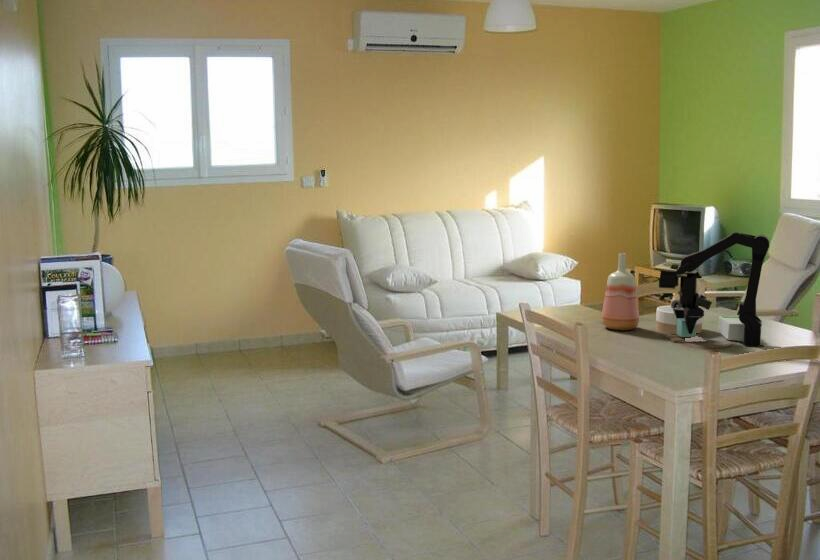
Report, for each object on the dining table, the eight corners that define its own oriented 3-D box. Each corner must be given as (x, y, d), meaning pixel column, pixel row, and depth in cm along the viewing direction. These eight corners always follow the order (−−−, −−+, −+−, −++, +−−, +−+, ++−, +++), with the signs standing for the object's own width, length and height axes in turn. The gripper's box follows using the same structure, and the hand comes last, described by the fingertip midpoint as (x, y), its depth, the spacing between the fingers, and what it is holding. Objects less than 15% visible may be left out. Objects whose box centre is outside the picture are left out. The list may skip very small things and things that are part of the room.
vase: (593, 326, 351) (596, 252, 347) (623, 323, 357) (626, 250, 352) (616, 333, 338) (618, 256, 334) (646, 330, 344) (649, 254, 339)
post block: (706, 342, 323) (707, 323, 322) (673, 342, 323) (674, 323, 322) (697, 336, 332) (698, 318, 331) (665, 337, 332) (666, 318, 331)
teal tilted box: (695, 336, 325) (696, 320, 324) (681, 337, 324) (681, 321, 324) (690, 333, 330) (691, 318, 329) (676, 334, 330) (677, 318, 329)
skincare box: (740, 316, 339) (752, 323, 323) (739, 333, 340) (751, 341, 324) (718, 315, 339) (729, 322, 324) (717, 332, 340) (728, 340, 325)
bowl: (661, 335, 336) (662, 313, 335) (651, 325, 353) (651, 305, 352) (707, 335, 335) (708, 313, 334) (694, 326, 352) (695, 305, 351)
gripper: (719, 293, 315) (717, 336, 318) (700, 285, 334) (698, 325, 336) (688, 293, 315) (686, 336, 318) (671, 285, 334) (669, 326, 336)
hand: (686, 331), depth 327 cm, fingers open, 9 cm apart
